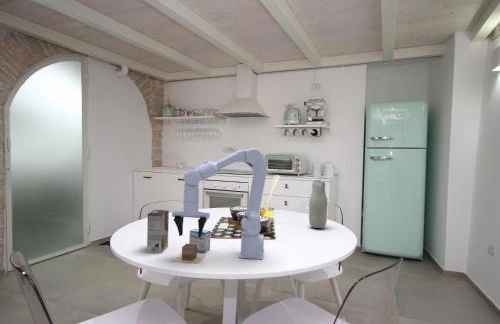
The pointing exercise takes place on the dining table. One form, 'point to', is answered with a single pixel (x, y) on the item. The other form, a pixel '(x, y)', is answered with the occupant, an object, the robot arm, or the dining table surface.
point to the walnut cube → (189, 252)
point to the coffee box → (157, 231)
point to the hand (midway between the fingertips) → (190, 235)
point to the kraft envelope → (196, 260)
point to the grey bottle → (318, 205)
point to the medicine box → (200, 240)
